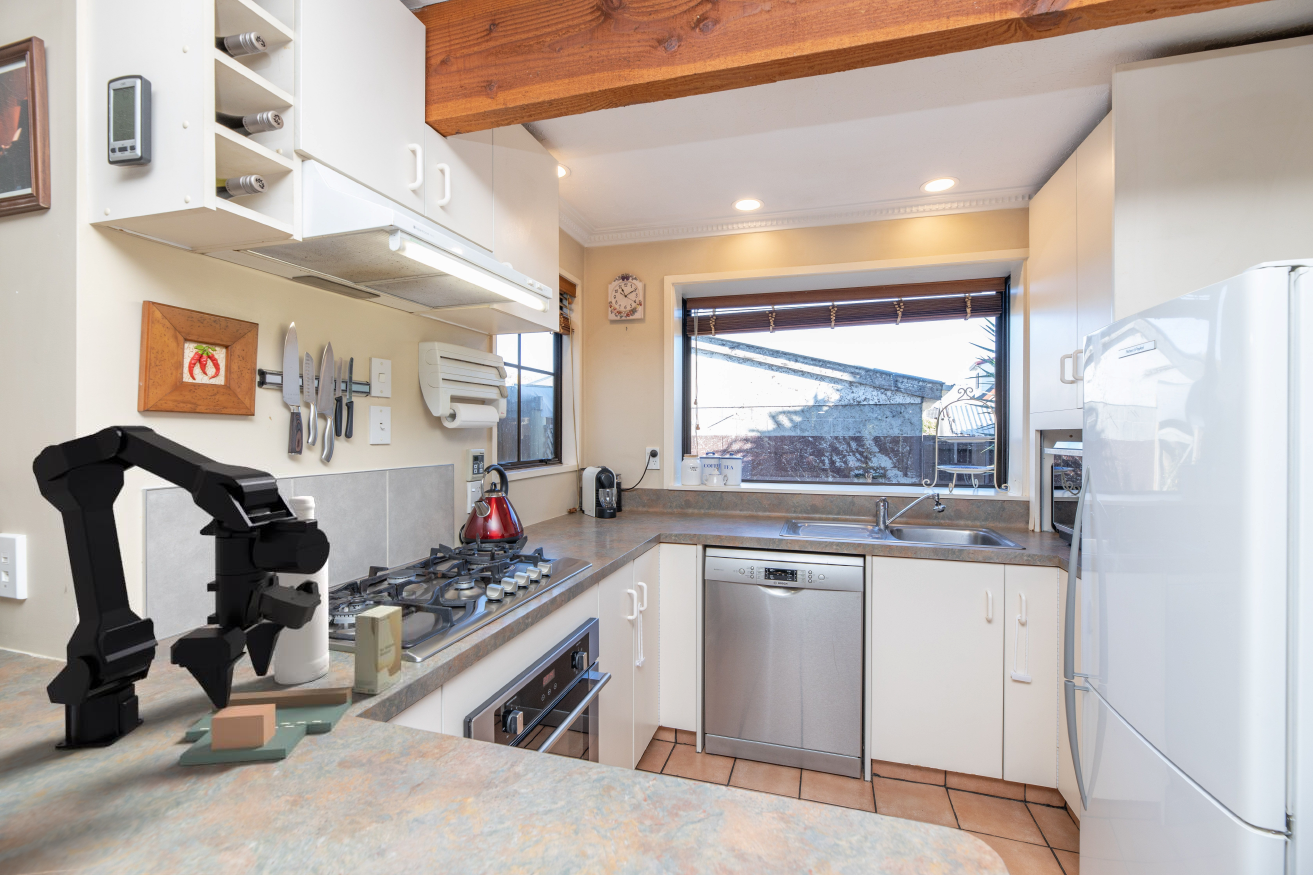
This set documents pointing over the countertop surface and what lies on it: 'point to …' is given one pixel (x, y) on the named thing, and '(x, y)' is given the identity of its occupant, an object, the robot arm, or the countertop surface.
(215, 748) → the stub
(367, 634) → the skincare box
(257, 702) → the dashed green plate
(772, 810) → the countertop surface
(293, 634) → the bottle
